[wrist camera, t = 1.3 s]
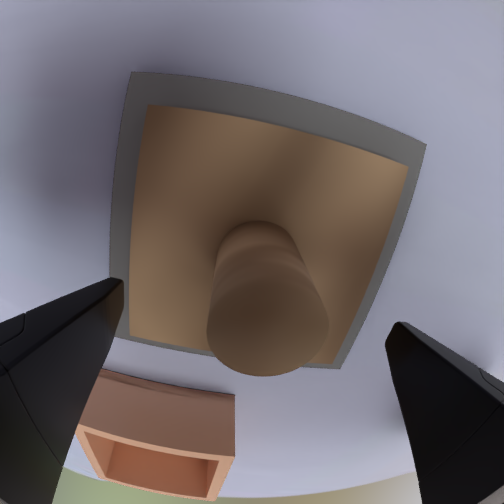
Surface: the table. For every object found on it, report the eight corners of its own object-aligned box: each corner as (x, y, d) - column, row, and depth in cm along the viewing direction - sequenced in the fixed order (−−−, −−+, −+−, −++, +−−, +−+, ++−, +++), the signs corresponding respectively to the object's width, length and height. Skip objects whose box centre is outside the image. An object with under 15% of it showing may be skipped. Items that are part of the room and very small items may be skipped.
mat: (420, 143, 12) (426, 144, 12) (337, 362, 18) (339, 369, 17) (135, 73, 11) (131, 71, 10) (115, 330, 16) (112, 336, 15)
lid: (395, 163, 12) (487, 194, 7) (327, 350, 16) (356, 436, 11) (156, 106, 11) (86, 91, 5) (135, 321, 15) (99, 409, 9)
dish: (234, 395, 18) (235, 456, 14) (216, 455, 22) (214, 501, 18) (93, 366, 17) (69, 420, 13) (110, 435, 21) (98, 477, 16)
